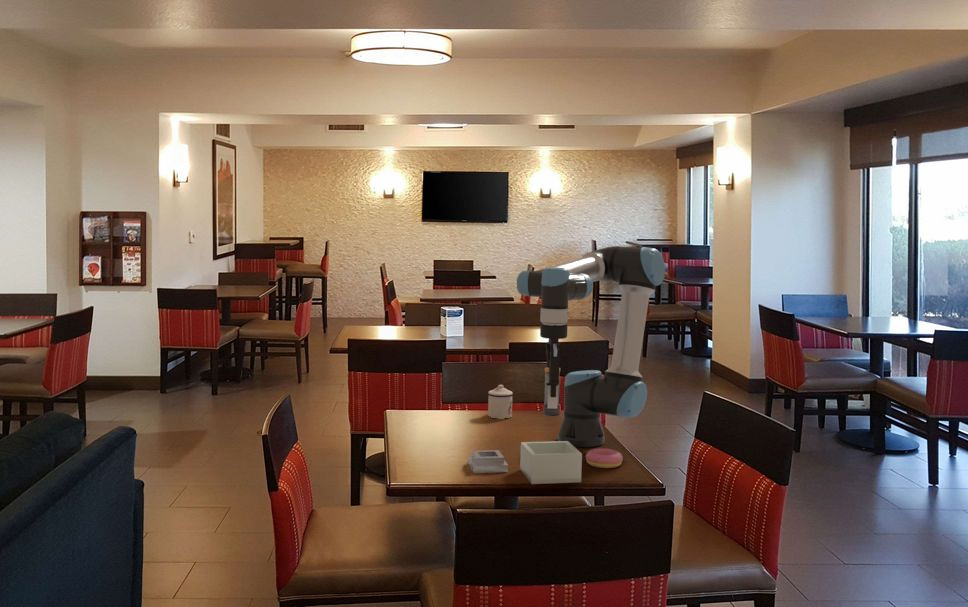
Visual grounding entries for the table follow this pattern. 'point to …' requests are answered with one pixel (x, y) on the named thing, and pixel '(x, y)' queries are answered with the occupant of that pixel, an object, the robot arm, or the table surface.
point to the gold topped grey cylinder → (547, 410)
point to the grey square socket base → (487, 462)
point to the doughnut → (604, 458)
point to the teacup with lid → (500, 403)
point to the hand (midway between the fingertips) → (551, 406)
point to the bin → (550, 462)
